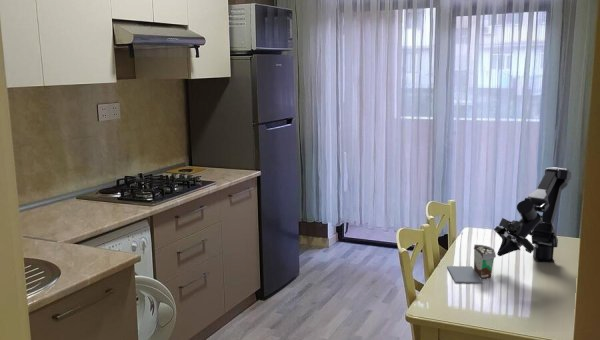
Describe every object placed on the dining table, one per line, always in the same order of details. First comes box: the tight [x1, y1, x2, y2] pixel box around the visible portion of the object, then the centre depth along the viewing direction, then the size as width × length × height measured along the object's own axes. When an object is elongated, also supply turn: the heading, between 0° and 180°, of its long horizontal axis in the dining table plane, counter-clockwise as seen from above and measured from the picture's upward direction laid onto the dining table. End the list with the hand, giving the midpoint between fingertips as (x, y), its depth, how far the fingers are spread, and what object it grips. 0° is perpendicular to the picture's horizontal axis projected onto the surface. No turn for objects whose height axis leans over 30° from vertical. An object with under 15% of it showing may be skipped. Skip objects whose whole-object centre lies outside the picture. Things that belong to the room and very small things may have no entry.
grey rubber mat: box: [446, 265, 483, 284], centre depth 213 cm, size 10×16×1 cm, turn 176°
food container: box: [473, 244, 497, 280], centre depth 213 cm, size 12×6×10 cm, turn 179°
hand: (498, 255), depth 213 cm, fingers closed
